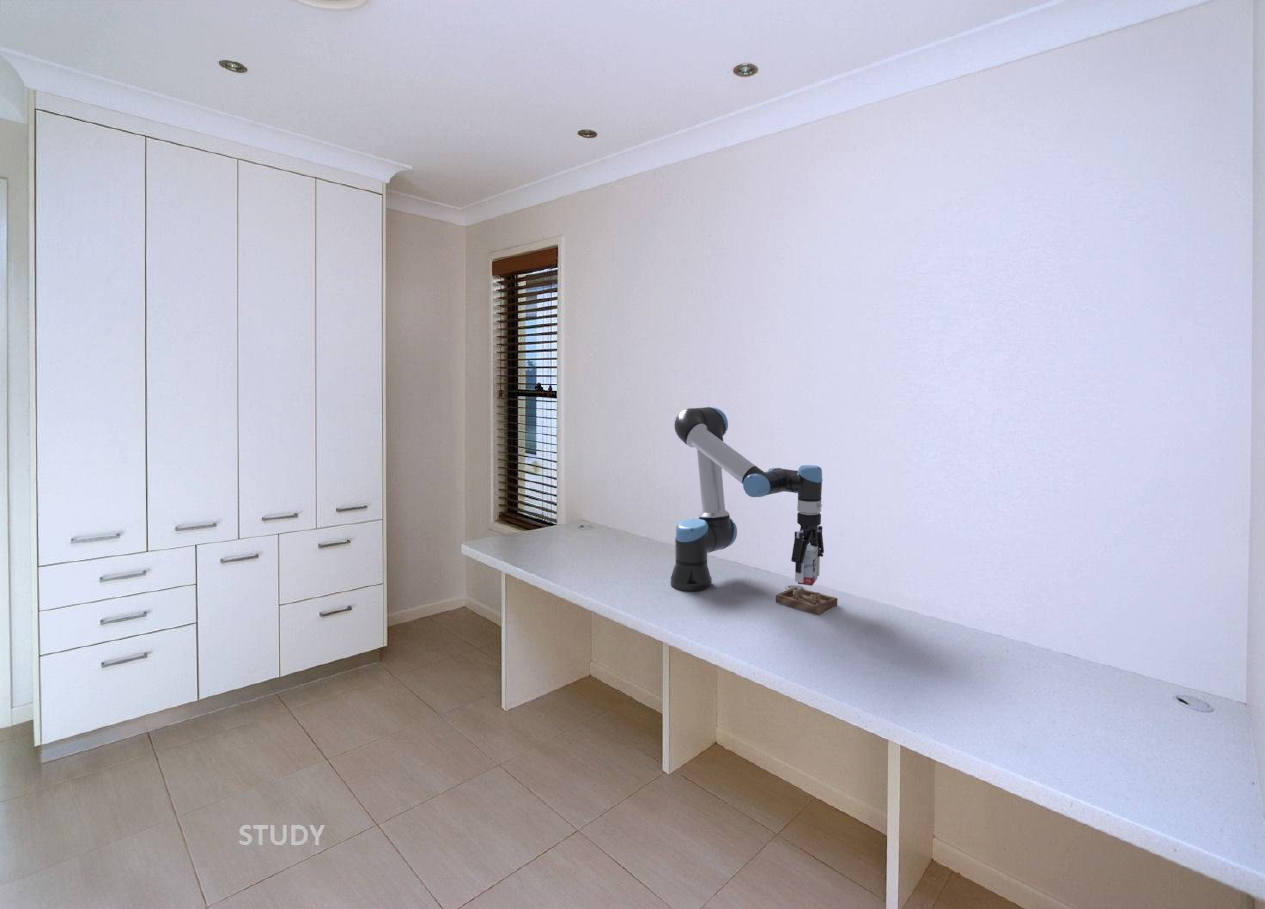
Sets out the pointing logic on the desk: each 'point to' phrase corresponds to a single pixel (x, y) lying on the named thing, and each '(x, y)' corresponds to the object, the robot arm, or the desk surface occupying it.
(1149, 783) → the desk surface
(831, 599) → the peg frame
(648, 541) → the desk surface
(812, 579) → the ink box
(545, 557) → the desk surface
